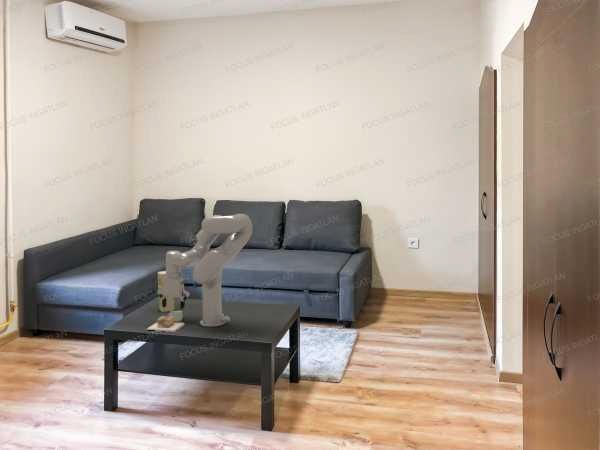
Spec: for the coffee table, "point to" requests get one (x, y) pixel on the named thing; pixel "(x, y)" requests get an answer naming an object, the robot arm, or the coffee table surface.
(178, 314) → the sage block
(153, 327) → the baseplate
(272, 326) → the coffee table surface
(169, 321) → the oak block
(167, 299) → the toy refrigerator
